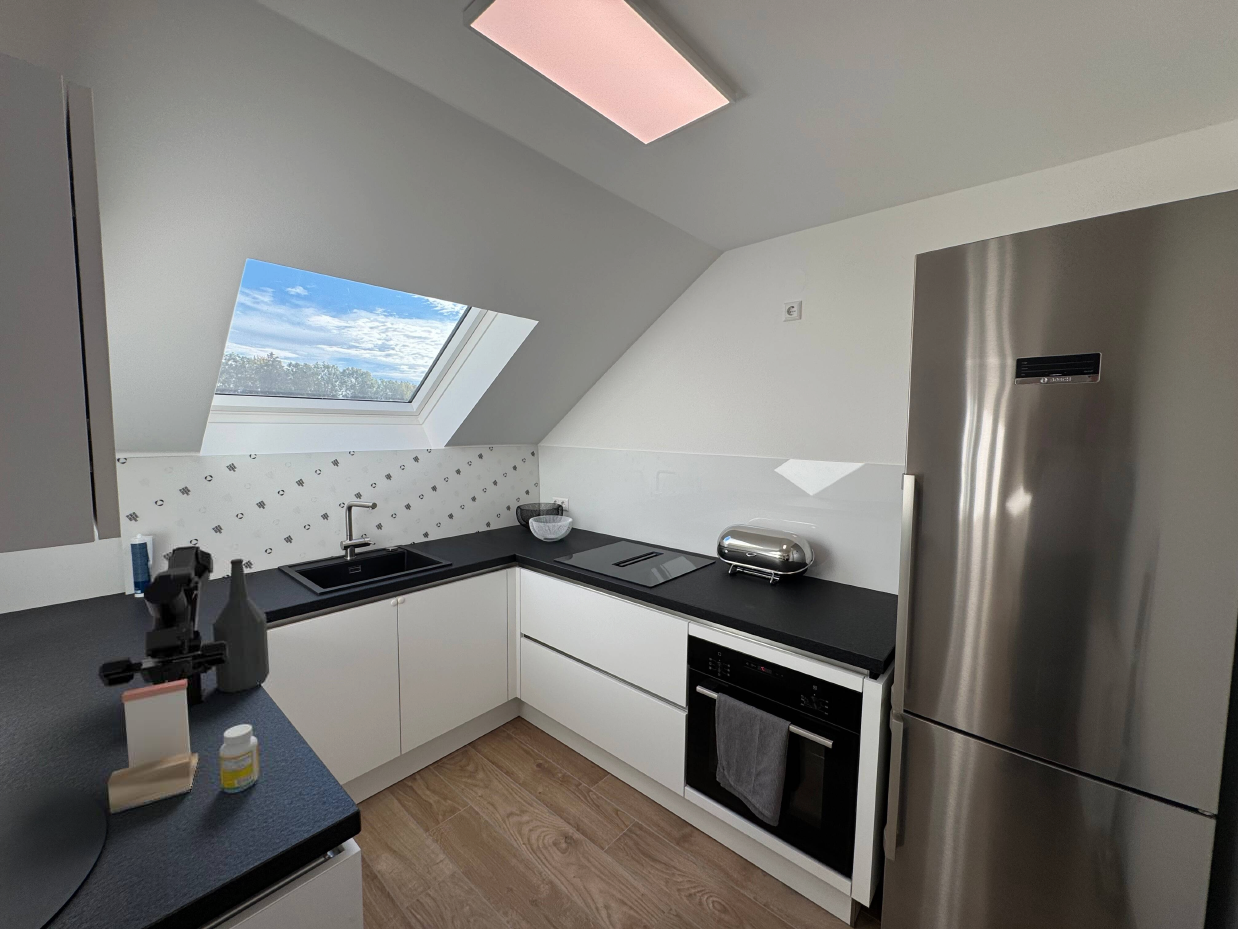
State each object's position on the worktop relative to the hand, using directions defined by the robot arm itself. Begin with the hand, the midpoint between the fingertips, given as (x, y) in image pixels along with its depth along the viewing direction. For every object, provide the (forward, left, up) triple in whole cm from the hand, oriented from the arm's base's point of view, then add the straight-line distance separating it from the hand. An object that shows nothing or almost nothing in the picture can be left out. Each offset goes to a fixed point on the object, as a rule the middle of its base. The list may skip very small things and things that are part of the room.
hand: (164, 706), depth 99 cm
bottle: (-27, +10, -10) cm, 30 cm away
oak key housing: (+10, 0, -10) cm, 14 cm away
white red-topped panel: (+6, 0, -8) cm, 10 cm away
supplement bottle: (+17, +12, -10) cm, 23 cm away
